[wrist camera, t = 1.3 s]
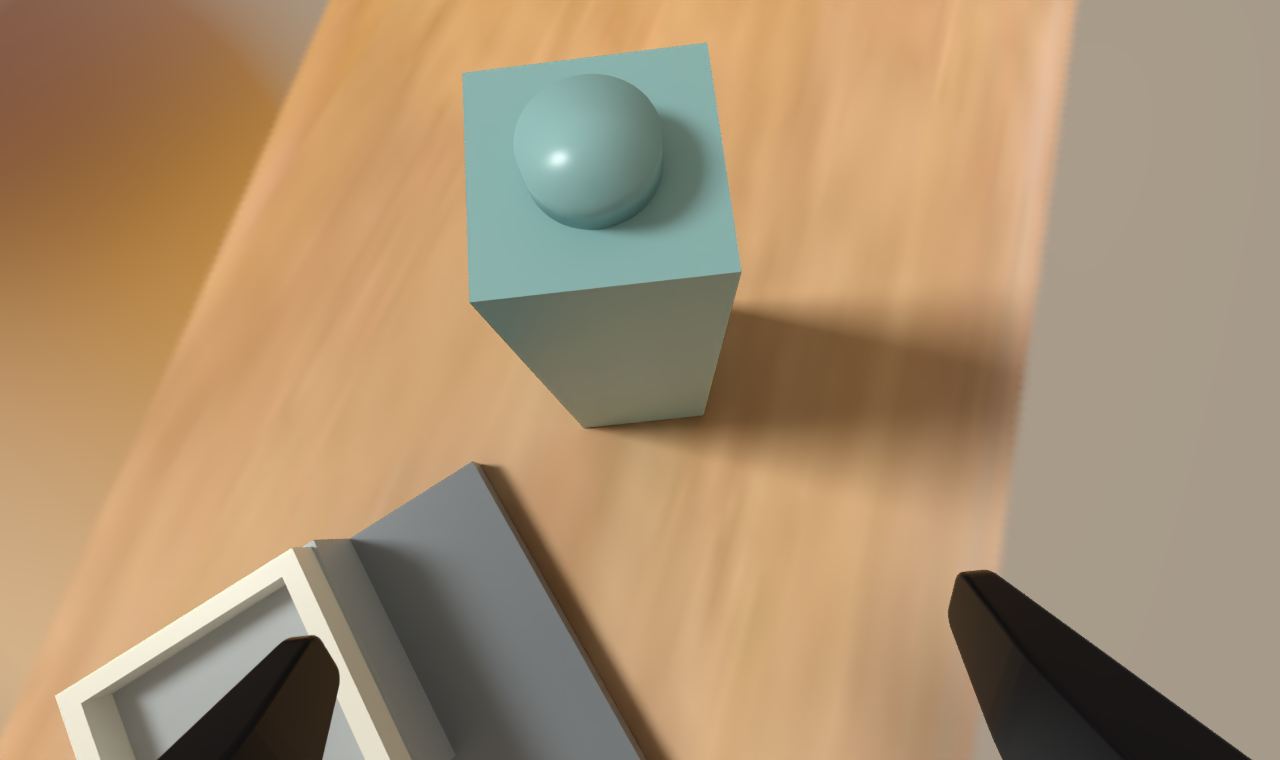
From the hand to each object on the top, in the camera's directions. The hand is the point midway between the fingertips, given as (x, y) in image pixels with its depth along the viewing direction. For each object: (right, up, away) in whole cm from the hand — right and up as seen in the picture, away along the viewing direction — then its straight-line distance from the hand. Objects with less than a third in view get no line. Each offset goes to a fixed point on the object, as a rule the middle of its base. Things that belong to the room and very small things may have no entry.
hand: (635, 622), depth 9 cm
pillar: (0, +4, +14) cm, 15 cm away
